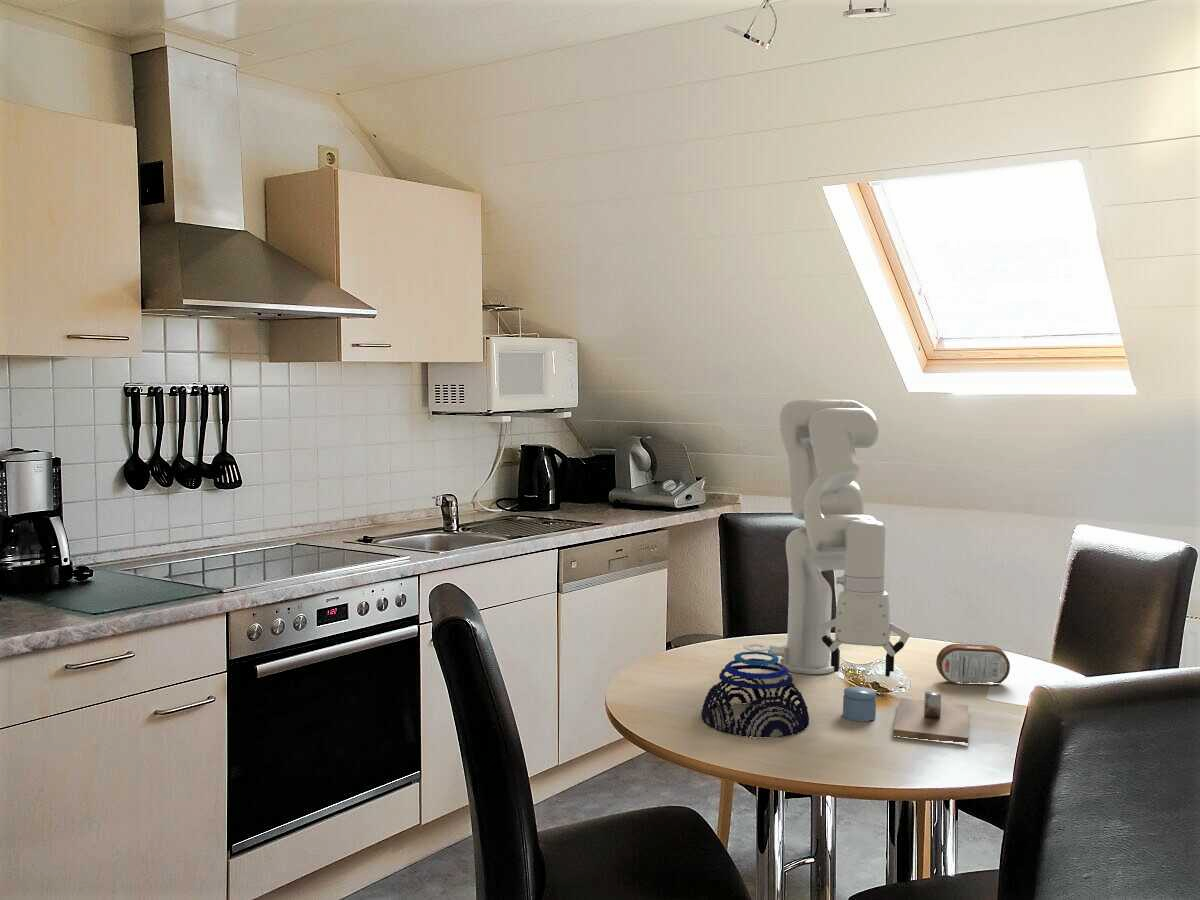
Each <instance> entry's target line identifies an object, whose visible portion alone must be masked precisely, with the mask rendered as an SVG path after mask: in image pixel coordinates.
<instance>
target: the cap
mask: <svg viewBox="0 0 1200 900" xmlns="http://www.w3.org/2000/svg"><path fill="white" fill-rule="evenodd" d="M842 699H843V701H842V702H843V703H842V718H845V719H847V718H848V719H847V720H849V719H850V720H849V721H852V720H854V722H861V721H867V722H871V721H870V720H873V721H875V720H876V717H877V716H876V715H877V691H876V690H874V689H873V688H870V687H867V686H866V687H865V686H848V687H845V688H844V690H843V698H842ZM875 716H876V717H875Z"/></svg>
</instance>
